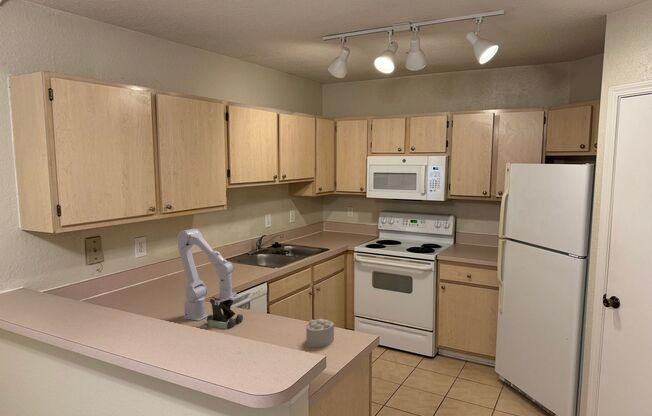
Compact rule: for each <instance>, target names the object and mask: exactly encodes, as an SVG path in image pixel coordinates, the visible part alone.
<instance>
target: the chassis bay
mask: <svg viewBox="0 0 652 416" xmlns="http://www.w3.org/2000/svg"><path fill="white" fill-rule="evenodd" d="M207 315H208V316H207V317H206V322H207V326H209V327H214V328H219V329H226V330H227V329H230V328H234V327H235V326H236V324H242V322H243V320H244V315H243V314H240V313H239V314H237V315H236V317H234V318H233V317H232V318H231V319H229V320H228V321H227V322H226V323H225V322H220V321H214V318H213V314H207ZM222 315H224V313H223V312H222Z"/></svg>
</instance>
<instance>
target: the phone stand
mask: <svg viewBox="0 0 652 416" xmlns="http://www.w3.org/2000/svg"><path fill="white" fill-rule="evenodd" d="M215 300H219V301H220V299H218V298H217V297H214V296H213V297H211V298H210V299H209V302H210V304H211V309H212V315H213V318H214V321H220V322H225V323H227V322H229V320H230V319H231V318H233V317H234V316H235V315H236V313H235V312H234V311H233V310H231V308H230V309H229V308H228V307H227V306H226V305H224V304H223V302H221V303H220V304H219V305H215ZM216 304H217V302H216ZM222 308H223V309H224V310H225V311H227V312H228V313H229V315H228V316H225V315H222V313H223V311H222Z"/></svg>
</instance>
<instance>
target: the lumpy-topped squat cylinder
mask: <svg viewBox="0 0 652 416" xmlns="http://www.w3.org/2000/svg"><path fill="white" fill-rule="evenodd" d="M305 329H306V333H305V335H306V336H305V337H306V338H305V339H306V343H305V344H306V345H307V346H308V347H311V348H321V347H326V346H329V345H330V344H332V342H334V340H335V323H334V322H333V321H330V320H329V319H324V318H318V319H310V320H309V321H308V323H307V325H306V328H305Z"/></svg>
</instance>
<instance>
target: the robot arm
mask: <svg viewBox="0 0 652 416" xmlns="http://www.w3.org/2000/svg"><path fill="white" fill-rule="evenodd" d="M176 240H177V243H178V252H179V256H180V259H181V262H182V267H183V270H184V274H185V276H186V280H187V284H186V285H185V298H186V300H185V302H184V304H183V305H184V309H183V310H184V316H183V319H185V320H192V321H197V322H199V321H201V320H204V319H205V318H207V317H208V315H209V314H208V313H207V314H205V313H206V309H205V307H206V306H205V304H206V302H205V301H206V296H207V295H208V292H209V291H208V288H207V285H205V282H204V281H203V280H201V278H200V277H199V273H198V270H197V266H196V264H195V260H194V256H193V253H192V247H193V245H195V246H197V247H198V248H199V249H200V250H201V251H203V252H204V254H205V255H207V260H208V261H209V262H210V263H211V264H212V266H213V267H214V268H215V269H216V270H215V271H216V273H217V276H218V280H219V297H218V298H217V299H220V301H219V300H215V299H214V300H215V305H219V304H220V303H221V302H223V304H224V305H226V306H227V307H228V308H229V309H230V310H231V307H232V305H233V304H234V299H235V298H237V292H233V285H232V282H233V281H232V279H233V277H232V275H233V274H232V273H233V272H234V269H235V267H234V264H233V263H232V262H231V261H228V260H227V259H225V258H224V257H223V256H222V254H221V253H220V252H219V251H218V250H214V249H213V248H212V247H211V246H210V245H209V243H208V242H207V241H206V240H205V239H204V237H203V233H202V232H200V230H199V229H198V228H196V227H195V228H190V229H185V230H180V231H179V232H178V234H177V236H176ZM216 302H217V304H216ZM221 311H222V313H224V315H225V316H228V315H229V313H228V312H227V311H225V310H224V309H223V308H222V309H221Z"/></svg>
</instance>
